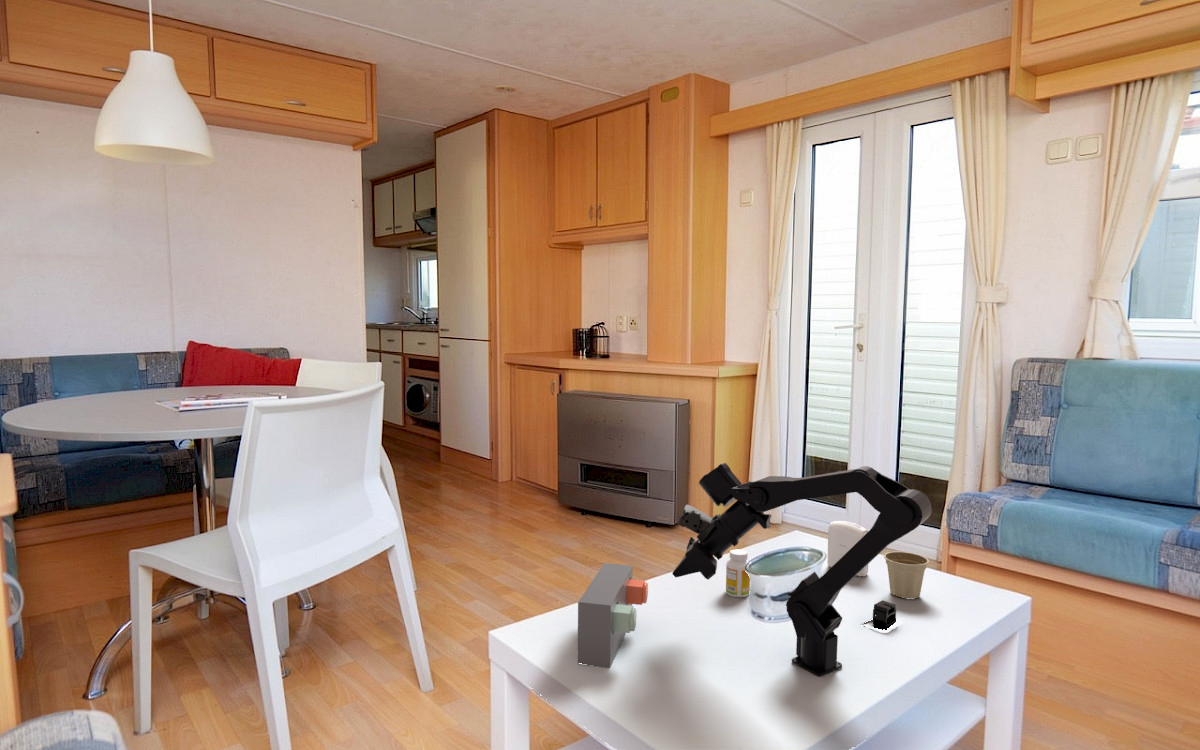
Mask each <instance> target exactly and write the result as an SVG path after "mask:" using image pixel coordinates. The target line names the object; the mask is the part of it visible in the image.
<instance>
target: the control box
mask: <svg viewBox="0 0 1200 750" xmlns="http://www.w3.org/2000/svg"><path fill="white" fill-rule="evenodd" d="M633 568H634V567H633V565H630V564H618V563H610V562H609V563H606V562H604V563H603V565H602V566H601V567H600V569H599V570H598V572H597V573H596V574H595V576H594V577H593V579H592V581H591V582H590V584H589V585H588V587H587V588H586V590H585V591H584V593H583V594H582V595H581V597H580V598H579V600H578V603H577V606H578V607H577V664H578V663H582V664H587V665H586V666H589V665H593V666H592V667H597V666H599V667H598V668H606V669H611V668H612V665H613V662H614V661H615V658H616V656H617V654H618V652H619V650H618V649H620V648H621V645H622V643H623V641H622V640H624V639H625V636H626V634H625V633H623V632H615V631H613V609H614V607H615V605H616V604H620V605H630V606H633V604H628V603H626V602H627V583H628V581H629V579H632V580H634V578H633V575H634V574H633V572H634V570H633ZM621 642H622V643H621ZM617 651H618V652H617ZM613 660H614V661H613Z"/></svg>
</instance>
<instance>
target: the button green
mask: <svg viewBox="0 0 1200 750" xmlns="http://www.w3.org/2000/svg"><path fill="white" fill-rule="evenodd" d="M637 616H638V615H637V608H636V607H634V605H632V606H630V605H620V604H616V605H615V607H614V609H613V631H615V632H623V633H626V634H630V633H631V632H635V630H636V628H637V627H636V626H637Z"/></svg>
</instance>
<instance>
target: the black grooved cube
mask: <svg viewBox="0 0 1200 750" xmlns="http://www.w3.org/2000/svg"><path fill="white" fill-rule="evenodd" d="M872 618H873V620H871V621H868V620H867V621H868V622H866V621H865V622H866V623H865V622H863V623H864V624H863V623H861V624H862V625H864V626H866V627H867V626H868V627H874V628H878V629H882V630H883V629H885V630H887V628H889V627H890V626H891V625H893V624H894V623H895V622H896V618H897V604H895V603H892V602H889V601H886V600H883V599H882V600H880V601H878V602H877V603H874V605H873V609H872ZM866 627H865V628H866Z"/></svg>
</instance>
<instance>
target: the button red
mask: <svg viewBox="0 0 1200 750" xmlns="http://www.w3.org/2000/svg"><path fill="white" fill-rule="evenodd" d="M648 597H649V583H648V582H646V580H644V579H642V580H641V579H633V580H632V579H629V581H628V583H627V602H626V603H628V604H632V605H640V606H642V605H643V604H647V603H648Z"/></svg>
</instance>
